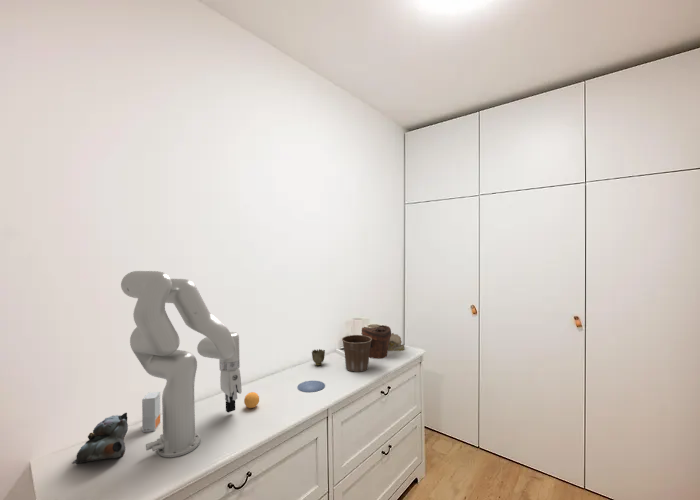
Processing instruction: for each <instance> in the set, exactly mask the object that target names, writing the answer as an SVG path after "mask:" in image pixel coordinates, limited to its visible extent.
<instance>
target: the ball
mask: <svg viewBox="0 0 700 500" xmlns="http://www.w3.org/2000/svg"><path fill="white" fill-rule="evenodd" d="M259 402H260V396H259V394H258V393H256V392H253V391H251V392H248V393H247V394H246V395H245V396H244V401H243V403H244V405H245V407H246V408H249V409H254V408H255V407H257V406H258V405H259Z"/></svg>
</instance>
